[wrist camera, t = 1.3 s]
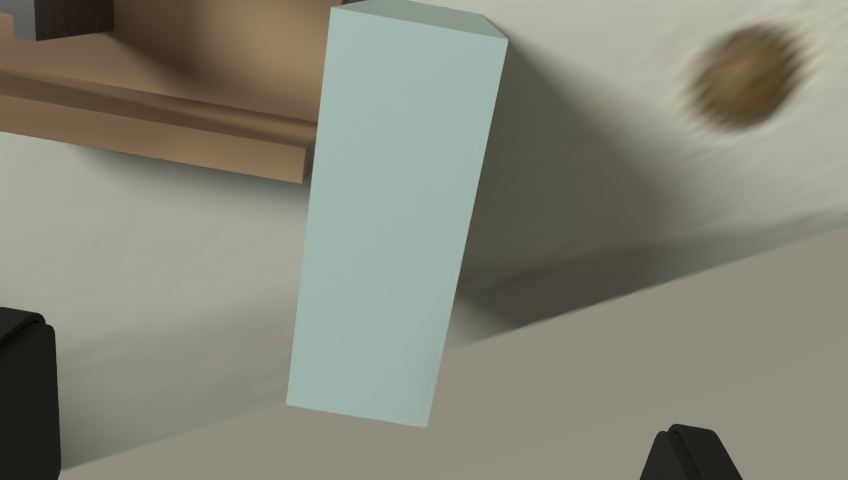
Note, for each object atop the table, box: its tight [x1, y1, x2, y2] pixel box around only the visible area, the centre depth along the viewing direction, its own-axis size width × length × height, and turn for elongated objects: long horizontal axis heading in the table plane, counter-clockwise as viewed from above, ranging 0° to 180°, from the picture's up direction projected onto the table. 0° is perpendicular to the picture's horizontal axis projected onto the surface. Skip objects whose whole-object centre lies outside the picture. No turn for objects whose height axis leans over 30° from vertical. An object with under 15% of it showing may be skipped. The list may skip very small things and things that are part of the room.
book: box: [286, 0, 509, 428], centre depth 25 cm, size 12×4×15 cm, turn 170°
